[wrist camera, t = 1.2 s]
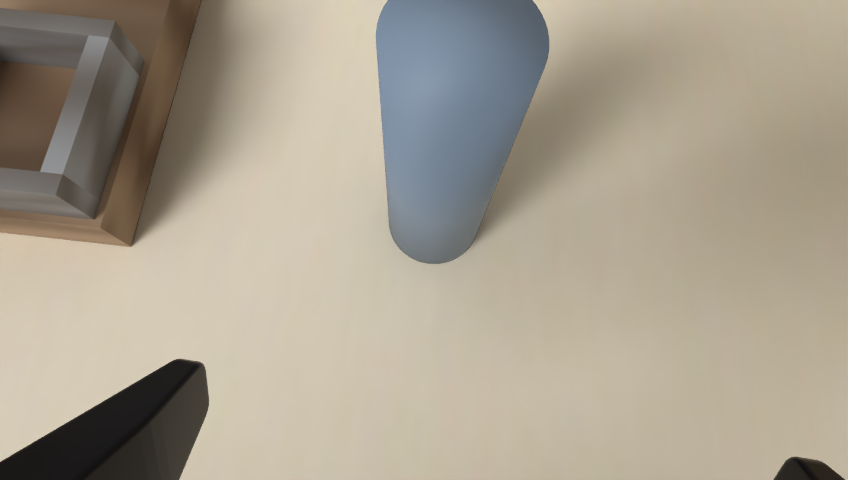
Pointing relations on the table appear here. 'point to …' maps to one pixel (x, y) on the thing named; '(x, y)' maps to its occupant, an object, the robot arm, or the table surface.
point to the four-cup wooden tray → (85, 111)
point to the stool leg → (452, 112)
